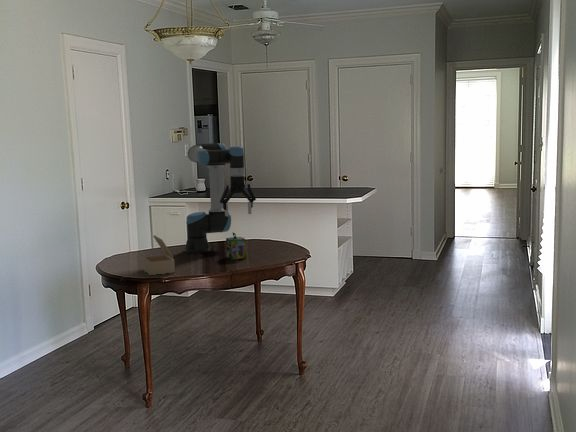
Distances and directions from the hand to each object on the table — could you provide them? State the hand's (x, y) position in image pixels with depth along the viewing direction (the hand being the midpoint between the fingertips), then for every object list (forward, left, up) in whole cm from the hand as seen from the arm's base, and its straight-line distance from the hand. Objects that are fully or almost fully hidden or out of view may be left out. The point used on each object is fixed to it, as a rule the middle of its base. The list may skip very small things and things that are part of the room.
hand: (238, 215), depth 337 cm
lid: (-9, -40, -15) cm, 43 cm away
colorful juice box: (-18, +6, -28) cm, 34 cm away
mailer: (-9, -43, -28) cm, 51 cm away
